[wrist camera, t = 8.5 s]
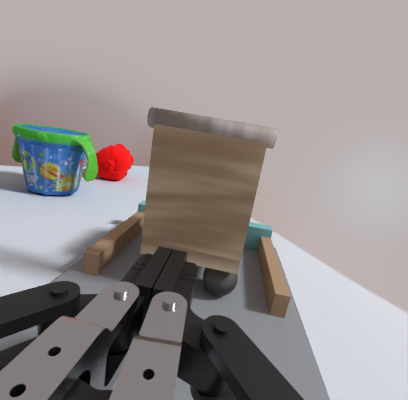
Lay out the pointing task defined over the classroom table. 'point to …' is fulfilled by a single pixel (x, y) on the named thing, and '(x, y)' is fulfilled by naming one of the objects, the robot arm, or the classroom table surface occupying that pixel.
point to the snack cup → (53, 158)
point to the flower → (114, 162)
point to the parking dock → (215, 301)
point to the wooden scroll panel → (203, 190)
